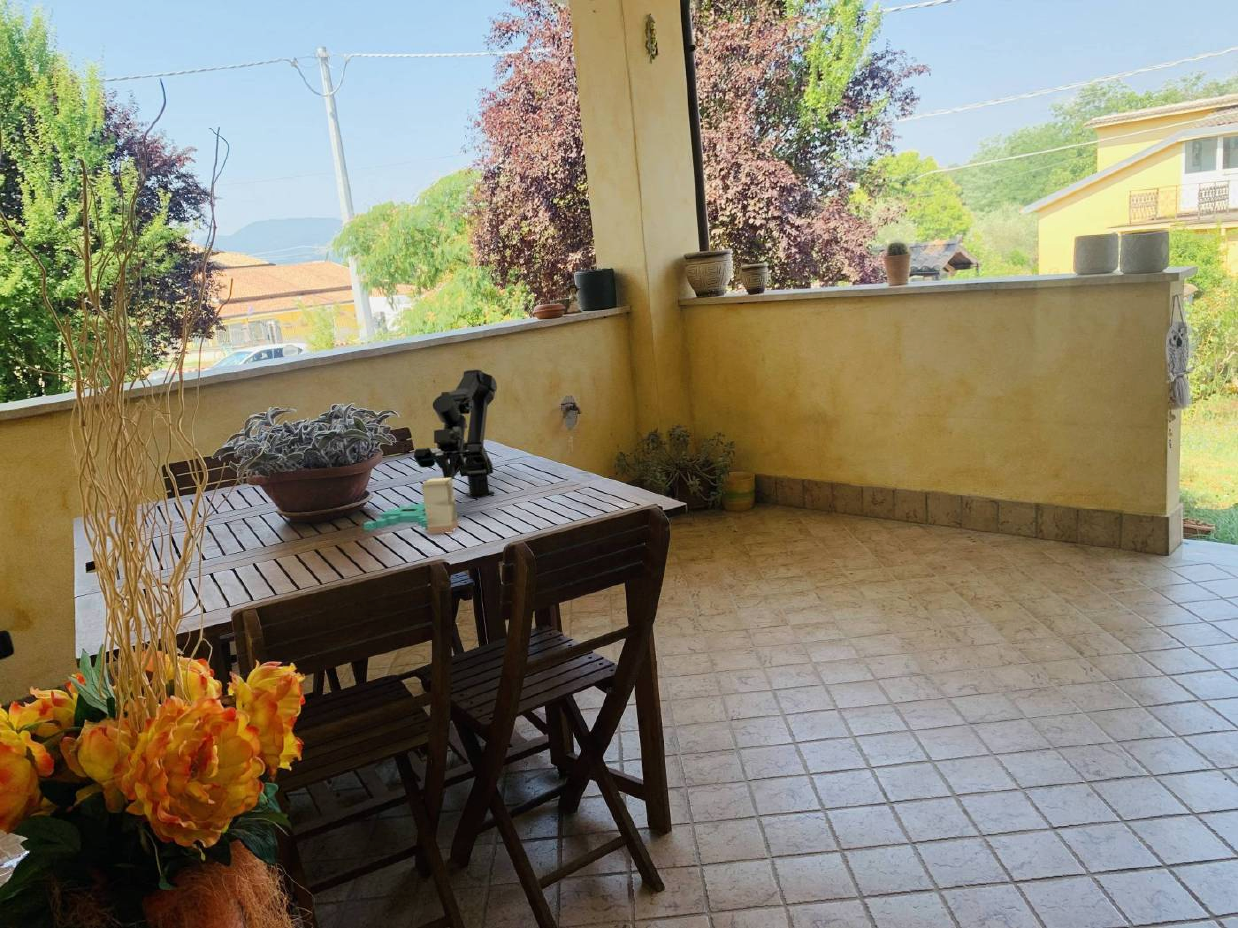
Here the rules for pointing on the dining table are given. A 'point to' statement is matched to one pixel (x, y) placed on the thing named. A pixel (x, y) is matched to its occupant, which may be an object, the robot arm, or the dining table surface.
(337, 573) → the dining table surface
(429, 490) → the maple block
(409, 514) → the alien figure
